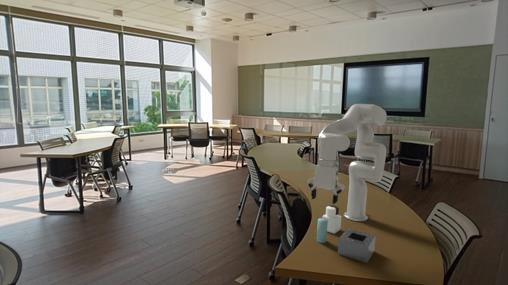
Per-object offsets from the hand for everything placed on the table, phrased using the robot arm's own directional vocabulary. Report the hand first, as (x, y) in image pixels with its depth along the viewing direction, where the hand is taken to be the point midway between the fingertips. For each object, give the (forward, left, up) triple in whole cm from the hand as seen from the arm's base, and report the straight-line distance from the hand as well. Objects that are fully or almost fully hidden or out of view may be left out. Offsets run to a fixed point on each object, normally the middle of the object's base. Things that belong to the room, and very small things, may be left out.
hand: (323, 200), depth 138 cm
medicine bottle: (-15, -1, -19) cm, 25 cm away
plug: (0, 0, -19) cm, 19 cm away
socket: (+1, +16, -19) cm, 25 cm away
